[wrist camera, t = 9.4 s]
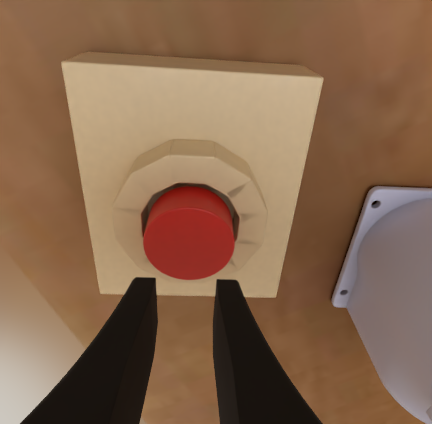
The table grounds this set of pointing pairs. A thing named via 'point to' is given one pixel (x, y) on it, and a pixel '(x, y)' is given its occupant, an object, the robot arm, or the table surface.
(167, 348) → the table surface
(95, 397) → the robot arm
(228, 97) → the button housing
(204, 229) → the button
